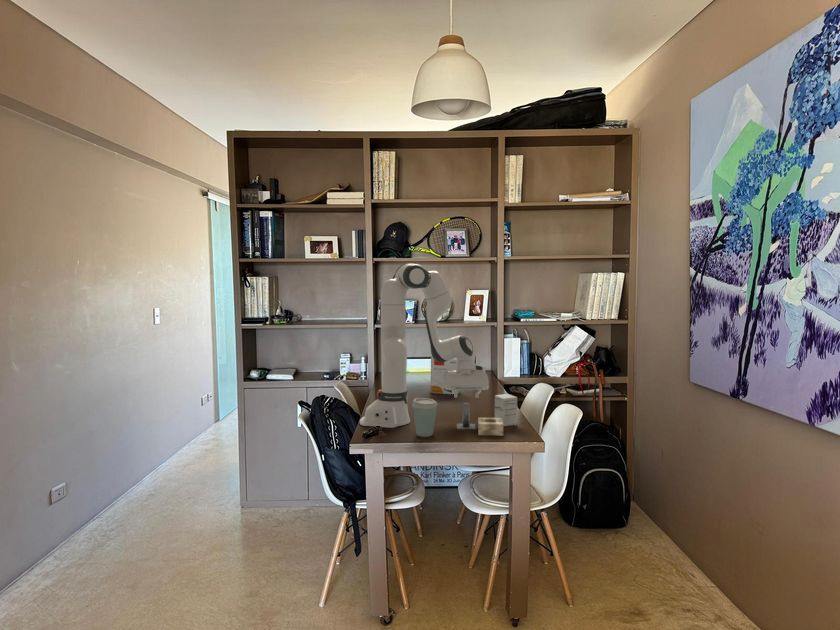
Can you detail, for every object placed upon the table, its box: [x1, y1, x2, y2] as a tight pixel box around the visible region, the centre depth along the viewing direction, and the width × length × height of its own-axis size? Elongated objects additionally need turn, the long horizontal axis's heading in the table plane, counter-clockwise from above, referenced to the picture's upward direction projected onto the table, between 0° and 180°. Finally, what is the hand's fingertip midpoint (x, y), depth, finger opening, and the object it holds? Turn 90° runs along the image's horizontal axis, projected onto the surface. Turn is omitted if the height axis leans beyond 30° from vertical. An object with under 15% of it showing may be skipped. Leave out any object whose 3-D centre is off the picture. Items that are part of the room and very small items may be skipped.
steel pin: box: [462, 402, 471, 427], centre depth 230 cm, size 3×3×10 cm
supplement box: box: [494, 393, 518, 427], centre depth 235 cm, size 7×7×13 cm
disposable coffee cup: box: [411, 397, 438, 438], centre depth 218 cm, size 11×11×15 cm
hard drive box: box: [430, 356, 461, 396], centre depth 296 cm, size 16×8×20 cm, turn 76°
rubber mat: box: [456, 423, 476, 430], centre depth 230 cm, size 8×8×1 cm
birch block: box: [477, 416, 504, 437], centre depth 222 cm, size 10×10×5 cm
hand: (466, 397), depth 236 cm, fingers open, 8 cm apart
